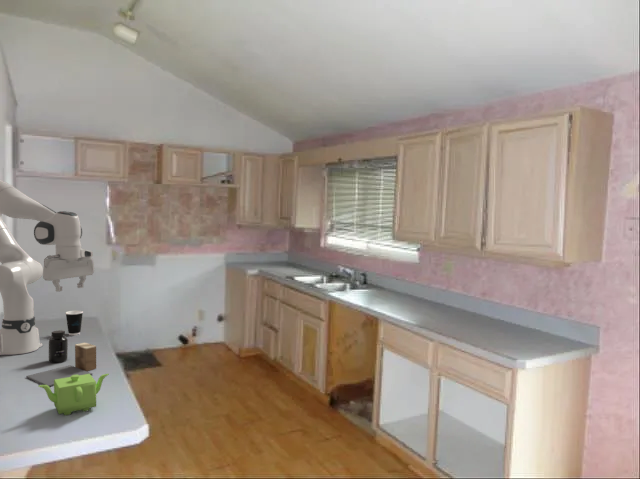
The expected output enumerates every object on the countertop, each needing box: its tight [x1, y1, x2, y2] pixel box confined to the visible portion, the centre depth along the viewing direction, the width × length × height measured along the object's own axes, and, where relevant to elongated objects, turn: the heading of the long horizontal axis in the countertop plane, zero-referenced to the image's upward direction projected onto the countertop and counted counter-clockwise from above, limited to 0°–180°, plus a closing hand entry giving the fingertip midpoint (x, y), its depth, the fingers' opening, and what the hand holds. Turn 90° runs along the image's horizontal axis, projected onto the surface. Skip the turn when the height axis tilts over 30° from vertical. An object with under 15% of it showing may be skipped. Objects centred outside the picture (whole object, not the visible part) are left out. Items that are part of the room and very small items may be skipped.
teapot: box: [37, 373, 110, 416], centre depth 150 cm, size 15×13×11 cm
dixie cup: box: [65, 310, 84, 336], centre depth 239 cm, size 8×8×11 cm
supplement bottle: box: [48, 329, 69, 364], centre depth 197 cm, size 7×7×12 cm
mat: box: [26, 364, 93, 388], centre depth 179 cm, size 16×16×1 cm
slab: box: [74, 342, 97, 372], centre depth 189 cm, size 8×4×9 cm, turn 55°
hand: (70, 289), depth 187 cm, fingers open, 8 cm apart
